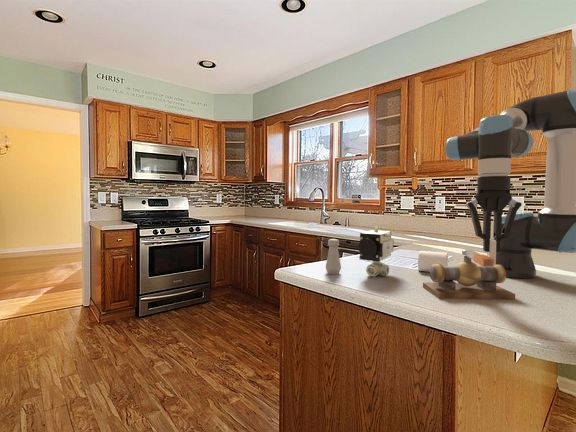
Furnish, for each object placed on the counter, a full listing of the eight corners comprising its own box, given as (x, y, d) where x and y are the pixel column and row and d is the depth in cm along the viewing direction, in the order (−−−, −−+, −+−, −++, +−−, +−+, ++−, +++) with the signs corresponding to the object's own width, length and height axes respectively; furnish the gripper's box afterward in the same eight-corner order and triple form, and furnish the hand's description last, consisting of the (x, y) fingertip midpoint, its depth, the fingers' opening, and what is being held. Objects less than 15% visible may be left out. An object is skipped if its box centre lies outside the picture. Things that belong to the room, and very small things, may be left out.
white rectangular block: (445, 275, 127) (446, 254, 127) (417, 272, 132) (418, 252, 131) (448, 269, 138) (448, 250, 137) (421, 267, 142) (422, 247, 142)
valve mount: (491, 287, 111) (492, 253, 110) (515, 299, 99) (517, 260, 98) (422, 287, 111) (423, 252, 110) (438, 298, 99) (439, 259, 98)
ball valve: (380, 281, 117) (381, 230, 116) (356, 278, 122) (357, 228, 121) (395, 272, 132) (396, 226, 131) (373, 269, 137) (374, 225, 136)
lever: (460, 254, 106) (460, 248, 106) (471, 254, 105) (471, 248, 105) (481, 266, 89) (481, 258, 89) (495, 266, 88) (495, 259, 88)
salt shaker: (343, 273, 130) (344, 239, 129) (335, 276, 125) (335, 240, 125) (331, 271, 134) (331, 237, 133) (322, 273, 129) (322, 239, 129)
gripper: (516, 176, 93) (513, 262, 94) (463, 177, 96) (461, 260, 97) (527, 174, 85) (524, 268, 87) (470, 175, 89) (467, 265, 90)
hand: (491, 264), depth 92 cm, fingers closed
